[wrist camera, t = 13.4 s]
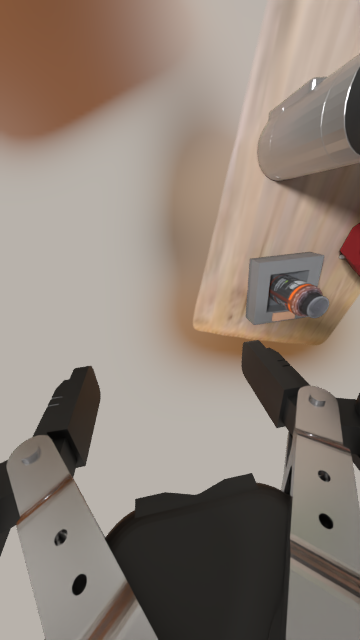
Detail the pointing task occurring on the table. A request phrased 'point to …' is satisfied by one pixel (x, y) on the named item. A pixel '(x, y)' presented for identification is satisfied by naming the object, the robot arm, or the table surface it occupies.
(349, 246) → the alarm clock
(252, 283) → the socket holder
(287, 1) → the table surface
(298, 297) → the supplement bottle
